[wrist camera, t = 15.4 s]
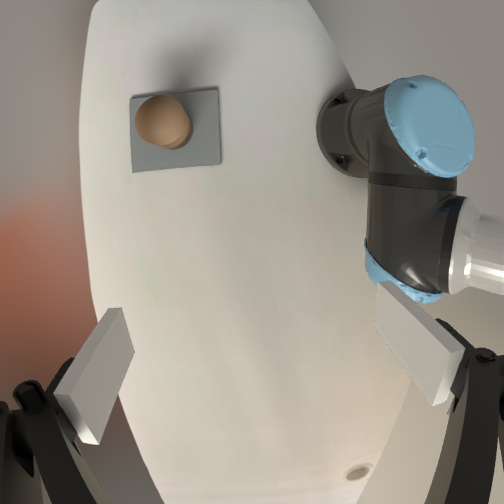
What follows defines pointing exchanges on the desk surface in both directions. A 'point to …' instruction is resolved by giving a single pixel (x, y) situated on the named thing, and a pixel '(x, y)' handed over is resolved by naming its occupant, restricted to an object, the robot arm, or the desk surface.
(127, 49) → the desk surface
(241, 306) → the desk surface
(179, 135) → the walnut canister
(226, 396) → the desk surface
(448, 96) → the robot arm
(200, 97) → the slate mat
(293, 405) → the desk surface
